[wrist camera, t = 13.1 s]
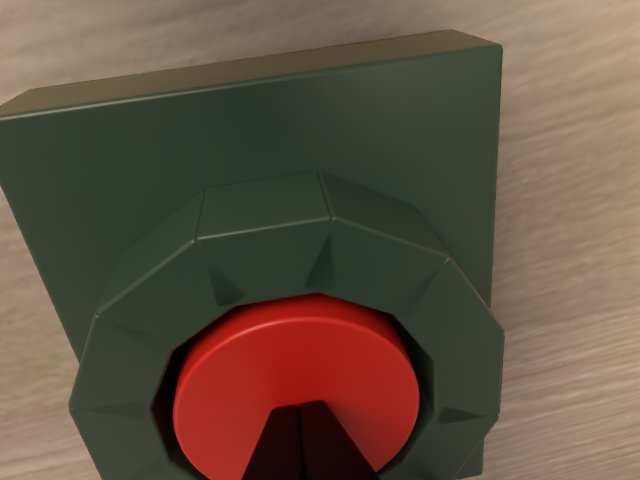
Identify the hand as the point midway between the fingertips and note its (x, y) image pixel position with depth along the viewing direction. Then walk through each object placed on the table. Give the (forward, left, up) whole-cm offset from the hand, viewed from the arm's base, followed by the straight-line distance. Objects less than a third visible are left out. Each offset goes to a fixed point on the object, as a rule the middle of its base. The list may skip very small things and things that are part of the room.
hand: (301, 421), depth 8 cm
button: (0, 0, -2) cm, 2 cm away
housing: (0, 0, -4) cm, 4 cm away
